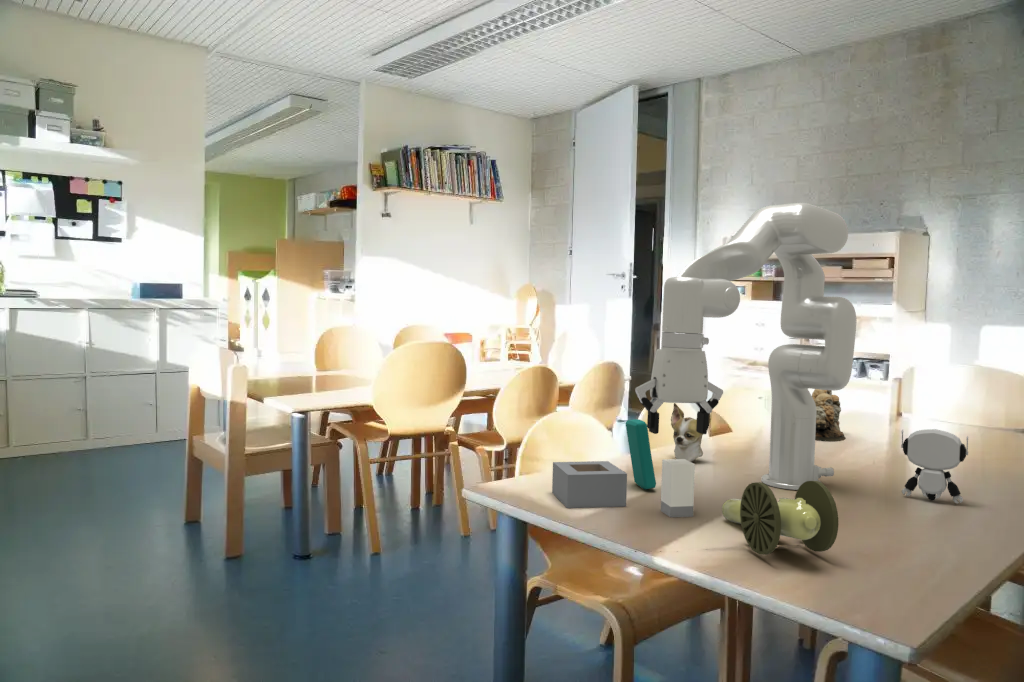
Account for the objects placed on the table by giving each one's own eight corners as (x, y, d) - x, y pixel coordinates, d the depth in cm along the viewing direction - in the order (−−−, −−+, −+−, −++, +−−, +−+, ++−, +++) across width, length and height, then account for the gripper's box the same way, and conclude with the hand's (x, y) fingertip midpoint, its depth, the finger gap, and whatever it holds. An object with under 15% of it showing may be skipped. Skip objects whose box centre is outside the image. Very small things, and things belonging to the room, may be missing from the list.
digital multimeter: (646, 492, 159) (659, 489, 160) (635, 422, 159) (648, 420, 160) (634, 486, 167) (646, 483, 167) (623, 420, 166) (636, 417, 167)
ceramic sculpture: (658, 463, 190) (660, 404, 190) (675, 459, 197) (677, 401, 196) (697, 470, 183) (699, 409, 183) (713, 465, 190) (715, 406, 189)
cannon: (701, 521, 140) (703, 460, 139) (759, 518, 142) (761, 459, 142) (776, 567, 115) (779, 493, 115) (844, 563, 118) (847, 491, 117)
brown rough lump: (841, 448, 218) (843, 389, 217) (798, 443, 225) (800, 386, 224) (851, 440, 233) (853, 385, 233) (811, 435, 240) (813, 382, 239)
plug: (683, 510, 147) (684, 459, 146) (693, 516, 142) (694, 463, 142) (660, 510, 146) (662, 459, 145) (670, 517, 141) (671, 464, 141)
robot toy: (966, 502, 157) (970, 431, 157) (964, 507, 154) (968, 434, 153) (901, 493, 164) (904, 424, 164) (897, 497, 161) (901, 427, 160)
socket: (607, 491, 160) (607, 461, 160) (626, 506, 148) (627, 473, 148) (552, 492, 158) (552, 462, 157) (567, 508, 146) (567, 474, 146)
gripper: (715, 343, 148) (711, 430, 148) (631, 340, 144) (627, 429, 145) (733, 345, 140) (729, 436, 141) (645, 342, 137) (641, 435, 138)
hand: (677, 432), depth 143 cm, fingers open, 9 cm apart
